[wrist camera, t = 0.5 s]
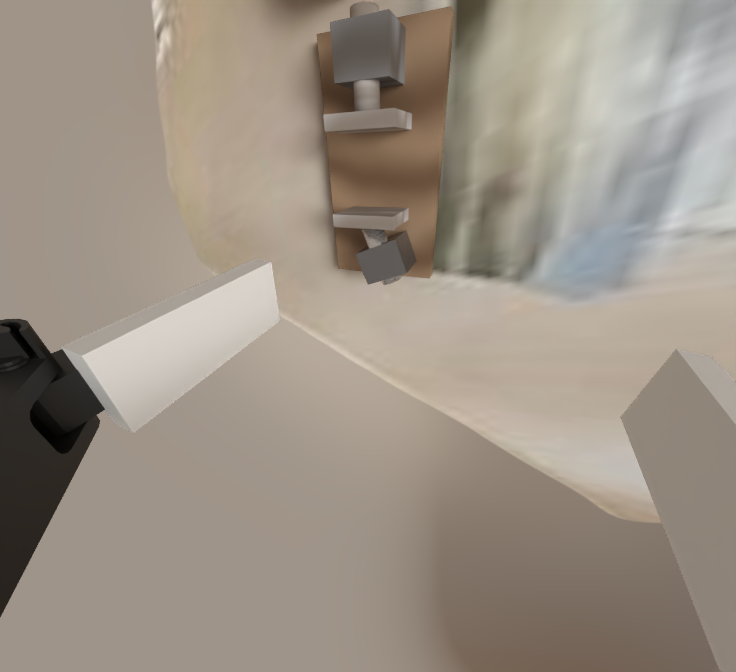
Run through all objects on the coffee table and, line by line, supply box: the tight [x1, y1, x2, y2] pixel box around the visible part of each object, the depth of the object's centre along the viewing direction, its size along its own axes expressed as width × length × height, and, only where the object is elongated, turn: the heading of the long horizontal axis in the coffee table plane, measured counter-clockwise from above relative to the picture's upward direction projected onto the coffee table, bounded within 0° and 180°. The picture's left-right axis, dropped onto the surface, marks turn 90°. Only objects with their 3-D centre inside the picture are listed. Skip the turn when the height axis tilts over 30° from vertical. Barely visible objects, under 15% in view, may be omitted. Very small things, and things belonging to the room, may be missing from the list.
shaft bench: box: [317, 2, 454, 278], centre depth 29 cm, size 22×12×7 cm, turn 2°
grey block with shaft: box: [356, 229, 417, 285], centre depth 32 cm, size 6×5×4 cm
